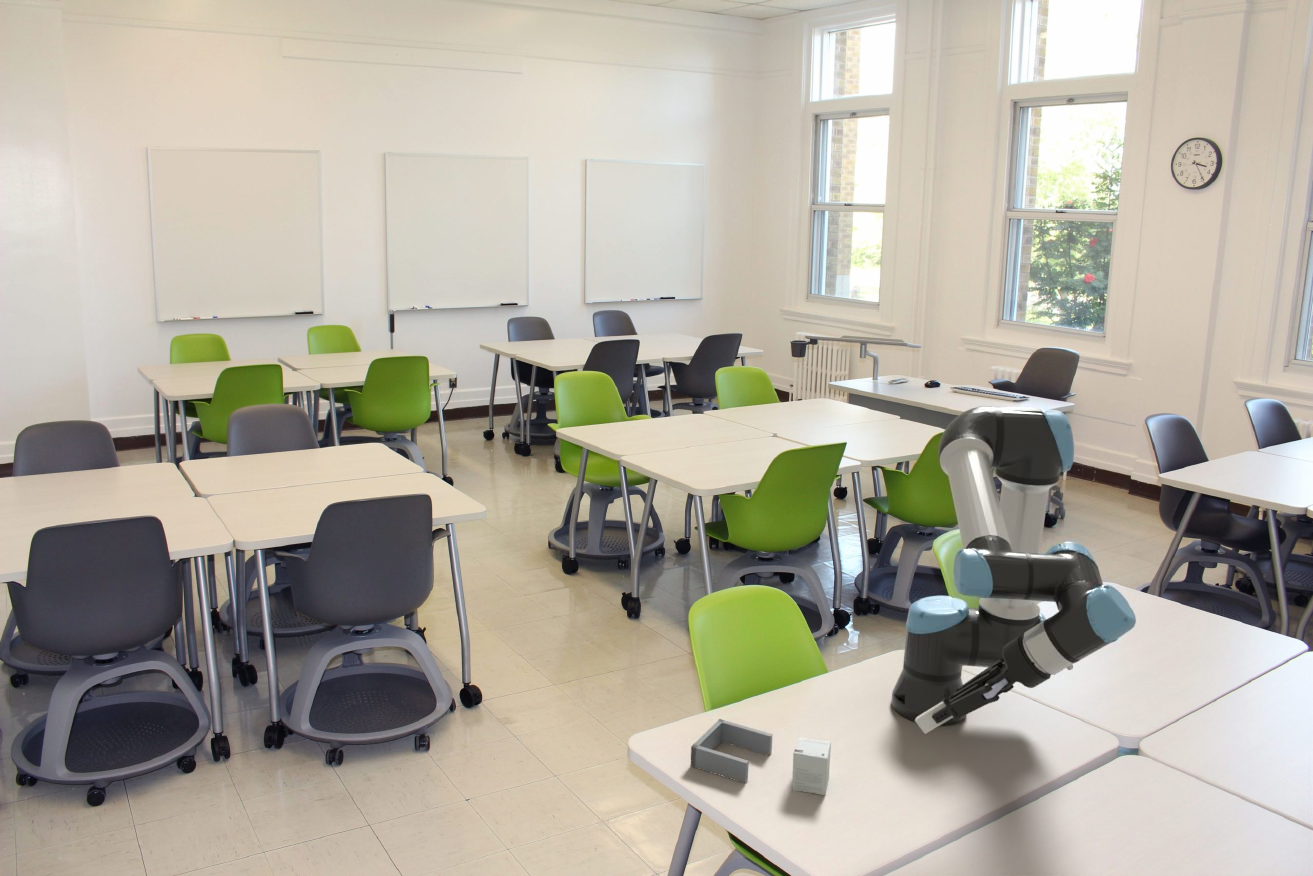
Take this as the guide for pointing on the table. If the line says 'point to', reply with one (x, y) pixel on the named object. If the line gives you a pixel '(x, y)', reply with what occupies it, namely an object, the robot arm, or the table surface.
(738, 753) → the table surface
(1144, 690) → the table surface
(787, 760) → the table surface
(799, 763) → the skincare box
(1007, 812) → the table surface
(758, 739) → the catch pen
